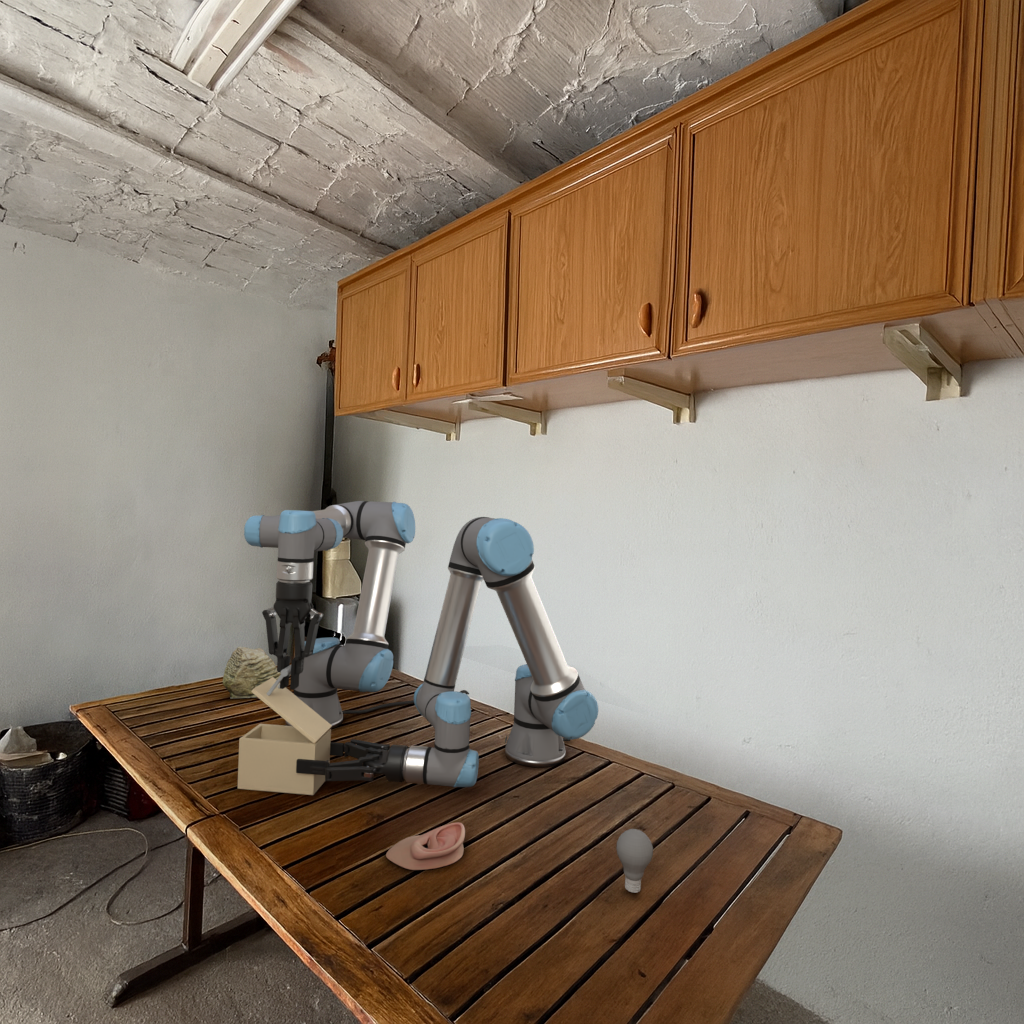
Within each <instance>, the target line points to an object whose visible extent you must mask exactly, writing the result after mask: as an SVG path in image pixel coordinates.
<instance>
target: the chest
mask: <svg viewBox="0 0 1024 1024" xmlns="http://www.w3.org/2000/svg"><path fill="white" fill-rule="evenodd" d="M331 739H332V729H329V730H328V731H327V732H326V733H325V734H324V735H323V736H322V737H321V738H320V739H319V740H318V741H317V742H316V743H315V744H314V743H313V742H311V741H310V740H309V739H308V738H307V737H305V736H304V735H303V734H302V733H301V732H299V731H298V730H297V729H296V728H294V727H293V726H286V725H285V724H284V725H281V724H268V723H258V724H257V725H256V726H255V727H253V728H252V729H250V730H249V731H248V732H247V733H245V734H244V735H242V736H241V737H239V739H238V763H237V789H238V790H248V791H249V790H250V791H258V792H259V791H261V792H272V793H284V794H296V795H308V796H314V795H315V794H316V793H317V792H318V790H320V788H321V787H322V785H323V784H324V783H325V782H326V781H325V775H316V774H304V773H296V762H297V759H306V760H320V761H326V760H329V763H331V755H330V743H331V742H332V741H331Z"/></svg>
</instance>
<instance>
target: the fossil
mask: <svg viewBox="0 0 1024 1024" xmlns="http://www.w3.org/2000/svg"><path fill="white" fill-rule="evenodd" d="M280 675H281V672H278V671H277V664H276V663H275V662H274V660H273V659H272V658H271V657H270V656H269V655H268V654H267V653H266V652H265V650H264V649H263V648H260V647H258V648H251V647H247V646H246V647H245V646H238V647H237V648H236V649H235V650H233V651H232V653H231V656H230V657H229V659H228V660H227V663H226V666H225V668H224V671H223V675H222V676H223V677H222V685H223V687H224V688H225V690H226V691H228V693H229V698H230V699H250V698H258V697H257V696H256V695H254V694H253V693H252V692H251V691H252V690H253V689H254V688H256V687H257V686H259V685H261V684H262V683H264V682H265V681H267V680H269V679H270V678H272V677H273V678H275V679H276V680H277V679H278V678H279V677H280Z"/></svg>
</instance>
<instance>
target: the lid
mask: <svg viewBox="0 0 1024 1024" xmlns="http://www.w3.org/2000/svg"><path fill="white" fill-rule="evenodd" d="M287 675H289V677H291V664H290V665H289V666H288V667H286V668H284V669H283V670H281V675H280V677H279V678H278V679H277V680H276V679H275V678H273V677H272V678H270V679H269V680H267V681H265V682H264V683H262V684H261V685H259V686H257V687H256V688H254V689H253V690H252V691H251V692H252V693H253V694H254V695H256V696H257V697H256V698H258V699H259V700H260V701H261V702H263V703H264V704H265V705H266V706H267V707H269V708H270V709H271V710H273V711H274V712H275V713H276V714H277V715H279V716H280V717H281V718H282V719H283V720H285V722H286V721H287V722H288V723H290V724H291V725H292V726H293V727H294V728H296V729H297V730H298V731H299V732H301V733H302V734H303V735H304V736H305V737H307V738H308V739H309V740H310V741H311V742H313V743H314V744H315V743H316V742H317V741H318V740H319V739H320V738H321V737H322V736H323V735H324V734H325V733H326V732H327V731H328V730H329V729H330V728H331V727H332V725H331V724H330V723H328V722H327V721H326V720H325V719H323V718H322V717H321V716H320V715H319V714H317V713H316V712H315V711H314V710H312V709H311V708H310V707H309V706H308V705H306V704H305V703H304V702H303V701H302V700H300V699H299V698H298V697H297V696H295V695H294V692H292V691H291V690H290V689H288V688H287V687H285V688H284V689H280V681H281V680H282V679H283V677H285V676H287Z"/></svg>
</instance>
